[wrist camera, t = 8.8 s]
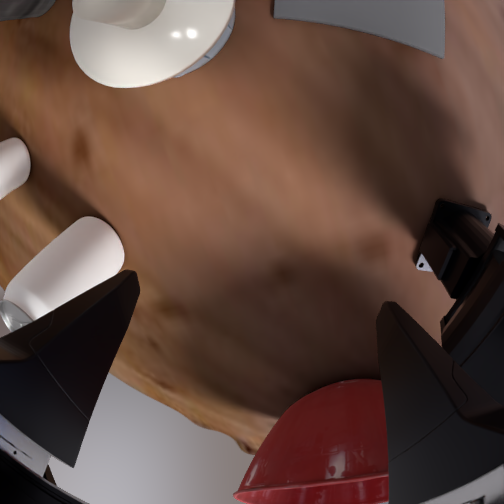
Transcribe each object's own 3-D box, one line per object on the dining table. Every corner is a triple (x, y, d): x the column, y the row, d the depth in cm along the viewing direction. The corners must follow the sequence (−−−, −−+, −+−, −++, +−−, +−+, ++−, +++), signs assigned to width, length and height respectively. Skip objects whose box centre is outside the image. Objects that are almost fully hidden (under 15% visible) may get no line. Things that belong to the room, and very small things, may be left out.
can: (65, 218, 23) (-16, 293, 13) (113, 209, 22) (22, 298, 12) (88, 272, 27) (25, 354, 17) (135, 271, 26) (72, 369, 15)
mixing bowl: (232, 424, 42) (217, 504, 29) (285, 316, 26) (275, 479, 13) (374, 438, 42) (378, 506, 29) (477, 350, 27) (510, 444, 14)
